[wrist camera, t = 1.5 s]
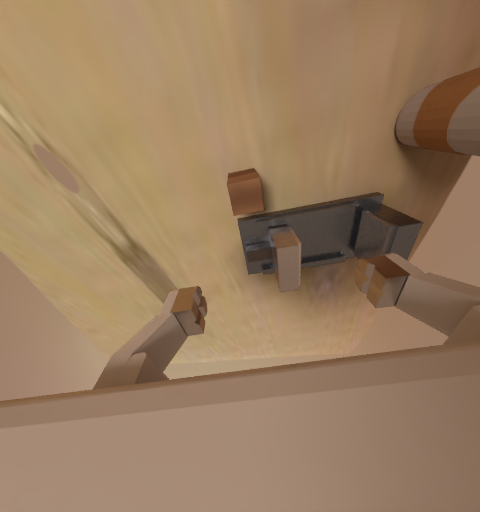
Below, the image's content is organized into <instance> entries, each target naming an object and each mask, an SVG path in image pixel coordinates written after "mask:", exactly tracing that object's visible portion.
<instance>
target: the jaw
mask: <svg viewBox="0 0 480 512" xmlns="http://www.w3.org/2000/svg"><path fill="white" fill-rule="evenodd" d="M268 231H269V240H270V242H265V243H260V244H254V245H248V246H245V247H246V254H247V259H248V263H249V262H255V261H261V260H267V259H271V260H272V267H273V270H274V273H275V277H276V280H277V283H278V286H279V290H280V292H285V291H291V290H298V289H299V286H300V285H301V242H300V240H299V239H298V237H297V235H296V234H295V232H294V231H293V229H292V228H291V226H290V225H286V223H285V224H280V225H274V226H269V227H268Z"/></svg>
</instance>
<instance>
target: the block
mask: <svg viewBox="0 0 480 512" xmlns="http://www.w3.org/2000/svg"><path fill="white" fill-rule="evenodd" d="M227 186H228V191H229V196H230V200H231V205H232V210H233V214H234V216H236V215H241V214H246V213H251V212H257V211H262V210H264V207H263V198H262V189H261V180H260V177H259V175H258V174H257V172H256V170H255V169H254V168H253V169H248V170H243V171H238V172H233V173H229V174H228V181H227Z"/></svg>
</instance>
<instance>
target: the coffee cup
mask: <svg viewBox="0 0 480 512" xmlns="http://www.w3.org/2000/svg"><path fill="white" fill-rule="evenodd" d="M395 132H396V136H397V138H398V139H399V141H400V142H401V143H402V144H405V145H409V146H416V147H422V148H425V149H431V150H437V151H444V152H450V153H457V154H469V155H476V156H480V68H478V69H475V70H472V71H469V72H466V73H463V74H460V75H458V76H455V77H452V78H449V79H446V80H445V81H443V82H440V83H437V84H434V85H431V86H428V87H426V88H424V89H422V90H421V91H419V92H418V93H417V94H416V95H414V96H413V97H412V98H411V99H410V100H409V101H408V102H407V103H406V105H405V106H404V107H403V108H402V110H401V112H400V114H399V116H398V118H397V121H396V126H395Z"/></svg>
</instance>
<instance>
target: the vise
mask: <svg viewBox="0 0 480 512" xmlns="http://www.w3.org/2000/svg"><path fill="white" fill-rule="evenodd" d="M383 197H384V194H381V193H379V192H376V193H371V194H366V195H360V196H355V197H350V198H344V199H339V200H334V201H328V202H323V203H318V204H313V205H307V206H302V207H297V208H291V209H286V210H281V211H275V212H270V213H265V214H260V215H254V216H249V217H244V218H238V225H239V230H240V235H241V240H242V245H243V250H244V254H245V259H246V264H247V269H248V274H255V273H261V272H263V275H264V274H271V273H274V270H273V267H272V260H271V259H267V260H261V261H255V262H249V263H248V259H247V254H246V247H245V246H248V245H254V244H260V243H265V242H270V240H269V231H268V227H269V226H274V225H280V224H285V223H286V225H290V226H291V228H292V229H293V231H294V232H295V234H296V235H297V237H298V239H299V240H300V242H301V268H308V267H314V266H320V265H326V264H332V263H338V262H345V259H347V258H353V257H357V258H358V259H359V260H360V259H363V258H369V257H375V256H381V255H385V254H390V253H395V254H398V255H399V256H401V257H402V258H404V259H405V260H407V258H408V256H409V254H410V252H411V249H412V247H413V245H414V242H415V240H416V238H417V236H418V233H419V231H420V229H421V226H422V224H423V222H421V221H419V220H416V219H414V218H412V217H410V216H408V215H405V214H403V213H401V212H399V211H397V210H394V209H392V208H390V207H388V206H386V205H383V204H382V201H383Z"/></svg>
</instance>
